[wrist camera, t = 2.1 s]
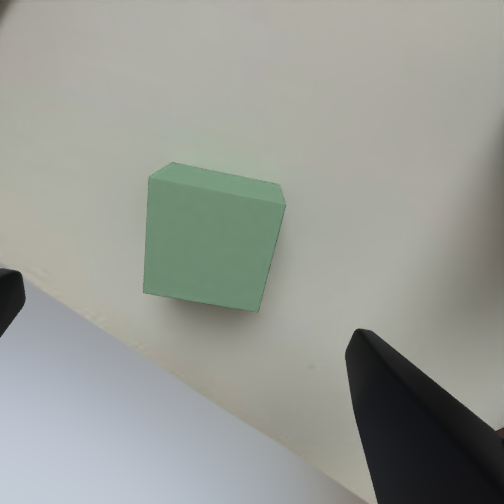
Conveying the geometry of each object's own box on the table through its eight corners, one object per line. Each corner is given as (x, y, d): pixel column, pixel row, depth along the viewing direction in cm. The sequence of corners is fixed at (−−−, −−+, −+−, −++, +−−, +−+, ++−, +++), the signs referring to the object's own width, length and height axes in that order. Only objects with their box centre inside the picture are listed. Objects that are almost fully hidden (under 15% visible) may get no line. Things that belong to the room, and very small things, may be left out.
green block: (279, 184, 14) (286, 204, 11) (257, 275, 16) (258, 312, 13) (171, 161, 13) (148, 176, 10) (163, 259, 15) (142, 293, 12)
